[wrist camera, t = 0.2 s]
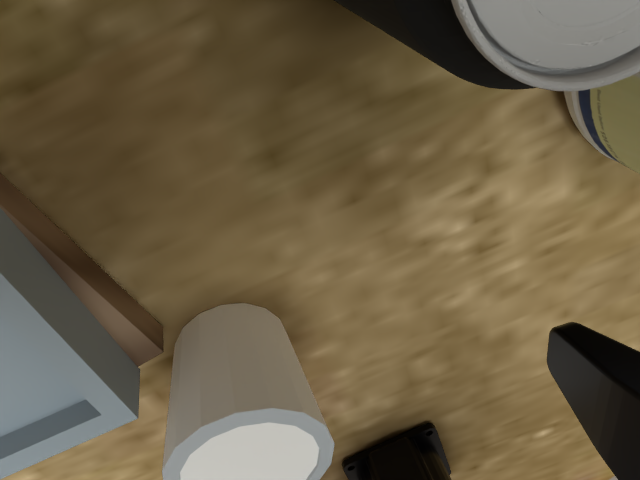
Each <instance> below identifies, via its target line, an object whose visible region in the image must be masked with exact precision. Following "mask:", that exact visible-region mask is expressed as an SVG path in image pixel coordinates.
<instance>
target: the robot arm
mask: <svg viewBox="0 0 640 480" xmlns="http://www.w3.org/2000/svg"><path fill="white" fill-rule="evenodd" d="M547 364H548V368H549V370H550V372H551V374H552V376H553V378H554V379H555V381H556V383H557V384H558V386H559V388H560V389H561V391H562V393H563V395H564V396H565V398H566V400H567V401H568V403H569V405H570V406H571V408H572V410H573V411H574V413H575V415H576V416H577V418H578V420H579V422H580V423H581V425H582V427H583V428H584V430H585V432H586V433H587V435H588V437H589V438H590V440H591V442H592V443H593V445H594V446H595V448H596V450H597V451H598V452H599V454H600V455H601V457H602V458H603V460H604V461H605V462H606V464H607V465H608V467H609V468H610V469H611V471H612V472H613V473H614V475H615V476H616V477H617V479H618V480H640V352H639V351H637V350H635V349H632V348H630V347H628V346H626V345H624V344H622V343H620V342H617V341H615V340H613V339H611V338H609V337H607V336H605V335H602V334H600V333H598V332H596V331H594V330H592V329H590V328H587V327H585V326H583V325H581V324H579V323H575V322H569V323H566V324H563V325H560V326H557V327H554V328H552V330H551V331H550V333H549V342H548V352H547ZM342 466H343V470H344V472H345V474H346V475H347V477H348V479H349V480H451V478H450V476H449V475H450V474H451V470H450V467H449V464H448V462H447V459H446V456H445V453H444V450H443V447H442V445H441V442H440V439H439V436H438V433H437V430H436V428H435V426H434V425H433V424H432V423H427V424H424V425H422V426H420V427H418V428H415V429H413V430H411V431H409V432H406V433H404V434H402V435H400V436H397V437H395V438H393V439H391V440H388V441H386V442H384V443H382V444H379V445H377V446H375V447H373V448H370V449H368V450H366V451H364V452H362V453H359V454H357V455H355V456H353V457H350V458H348V459H346V460H345V461H344V462H343V463H342Z"/></svg>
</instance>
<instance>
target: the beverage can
mask: <svg viewBox="0 0 640 480" xmlns="http://www.w3.org/2000/svg"><path fill="white" fill-rule="evenodd" d="M334 1H336V2H337V3H339V4H341V5H342V6H344V7H345V8H347V9H349V10H350V11H352V12H353V13H355V14H357V15H358V16H360V17H362V18H363V19H365V20H366V21H368V22H370V23H371V24H373V25H374V26H376V27H378V28H379V29H381V30H383V31H384V32H386V33H387V34H389V35H391V36H392V37H394V38H395V39H397V40H399V41H400V42H402V43H404V44H405V45H407V46H408V47H410V48H412V49H413V50H415V51H416V52H418V53H420V54H421V55H423V56H424V57H426V58H428V59H429V60H431V61H433V62H434V63H436V64H437V65H439V66H441V67H442V68H444V69H445V70H447V71H449V72H450V73H452V74H454V75H456V76H457V77H459V78H462V79H464V80H466V81H468V82H471V83H474V84H477V85H481V86H485V87H488V88H498V89H529V88H542V89H547V90H552V91H581V90H588V89H593V88H598V87H602V86H606V85H610V84H612V83H615V82H617V81H620V80H622V79H625V78H627V77H630V76H632V75H634V74H636V73H638V72H640V0H334Z"/></svg>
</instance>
